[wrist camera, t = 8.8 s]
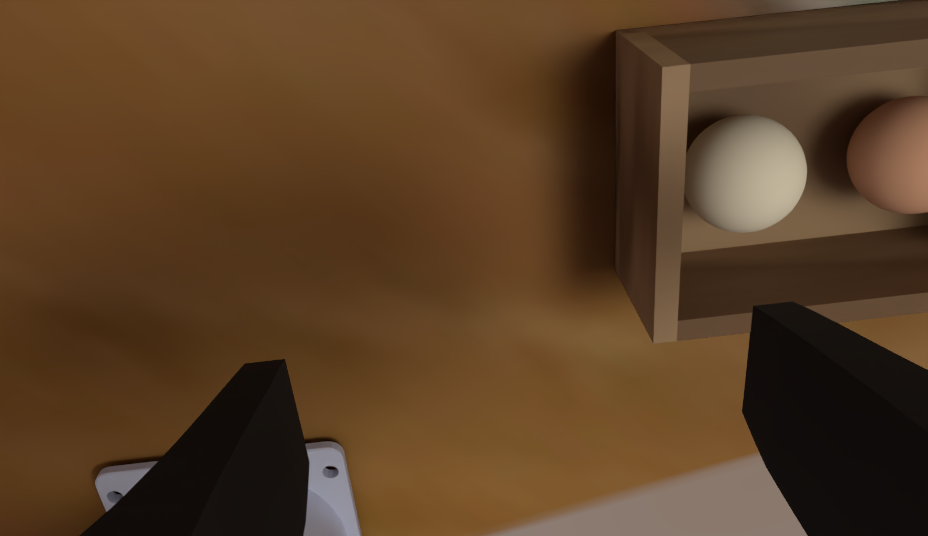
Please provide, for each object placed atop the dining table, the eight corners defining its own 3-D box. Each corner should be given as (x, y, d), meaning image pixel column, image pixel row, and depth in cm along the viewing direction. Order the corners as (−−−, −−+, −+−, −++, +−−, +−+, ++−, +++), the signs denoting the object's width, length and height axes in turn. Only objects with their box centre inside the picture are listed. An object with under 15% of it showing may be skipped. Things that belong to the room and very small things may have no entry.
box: (942, 232, 23) (1039, 299, 20) (614, 269, 23) (653, 343, 20) (997, -10, 20) (1125, 17, 16) (615, 30, 20) (662, 67, 16)
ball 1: (770, 198, 22) (820, 245, 19) (665, 210, 22) (701, 259, 19) (781, 94, 20) (837, 129, 18) (668, 106, 20) (709, 143, 18)
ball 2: (922, 181, 22) (994, 226, 19) (819, 193, 22) (876, 239, 19) (945, 76, 20) (1025, 108, 18) (833, 88, 20) (897, 122, 18)
